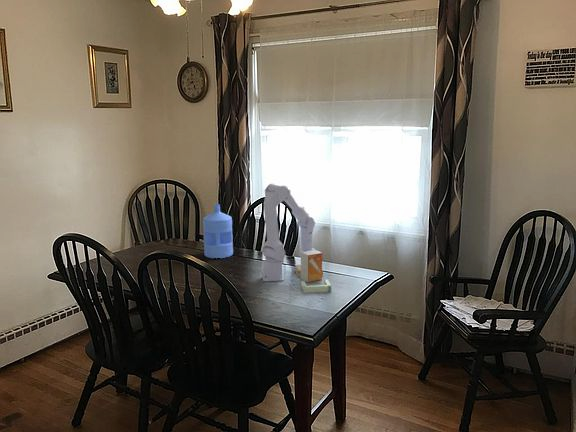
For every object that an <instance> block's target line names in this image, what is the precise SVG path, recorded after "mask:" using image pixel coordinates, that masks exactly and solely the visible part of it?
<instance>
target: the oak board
mask: <svg viewBox="0 0 576 432" xmlns="http://www.w3.org/2000/svg"><path fill="white" fill-rule="evenodd" d="M294 265H295V266H294V271H295V273H296V275H297V277H298V278H301V264H294ZM322 277H324V269H323V268H322Z"/></svg>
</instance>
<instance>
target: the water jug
mask: <svg viewBox="0 0 576 432" xmlns="http://www.w3.org/2000/svg"><path fill="white" fill-rule="evenodd" d="M213 206H214V207H213V210H214V211H213V212H212V213H210V214H208V215H206V216H204V217H203V219H202V226H203V244H204V248H203V249H204V251H203V253H204V256H205V257H206V258H208V259H214V258H216V260H217V258H220V259H225V258H226V257H227V258H230V257H231V256H233V254H234V247H233V245H234V242H233V240H234V239H233V219H232V218H233V217H232V216H231V215H228V214H226V213H224V212H221V207H220V206H221V205H220V204H219V203H218V204H217V203H216V204H215V203H214V204H213Z"/></svg>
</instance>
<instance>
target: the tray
mask: <svg viewBox="0 0 576 432" xmlns="http://www.w3.org/2000/svg"><path fill="white" fill-rule="evenodd" d="M300 285H301V286H300V287H301V289H302V292H303V293H304V294H306V293H323V292H325V293H326V292H327V293H328V292H332V285H331V282H330V281H329V279H324V283H323V284H316V285H308V284H306V281H304V280H301V283H300Z"/></svg>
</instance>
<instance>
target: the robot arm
mask: <svg viewBox="0 0 576 432" xmlns="http://www.w3.org/2000/svg"><path fill="white" fill-rule="evenodd" d="M282 202H285V203H286V204H287V205H288V206H289V208H290V209H291V214H292V215H293V216H294V218H295V219H296V220H297V225H298V226H299V227H300V253H301V252H305V251H311V250H316V249H315V248H314V247H313V233H314V229H315V225H316V221H315V220H314V218H313V217H311V216H310V215H309V213H308V212H307V211H306V210H305V207H304V206H303V205H298V203H297V202H296V200H295V198H294V197H293V195H292V194H291V189H289V188H288V186H287V185H282V184H281V185H280V184H275V183H269V184H268V185H267V186H266V188H265V189H264V201H263V210H264V211H263V212H264V221H265V222H264V223H265V232H266V241H265V242H264V243H263V249H262V254H263V256H264V257H265V259H264V260H262V261H261V268H262V269H261V277H262V281H263V282H280V281H281V282H283V281H284V276H283V260H284V259H285V257H286V250H285V249H284V244H283V243H282V242H281V240H280V235H279V224H278V223H279V222H278V213H277V207H278V205H281V203H282Z"/></svg>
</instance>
